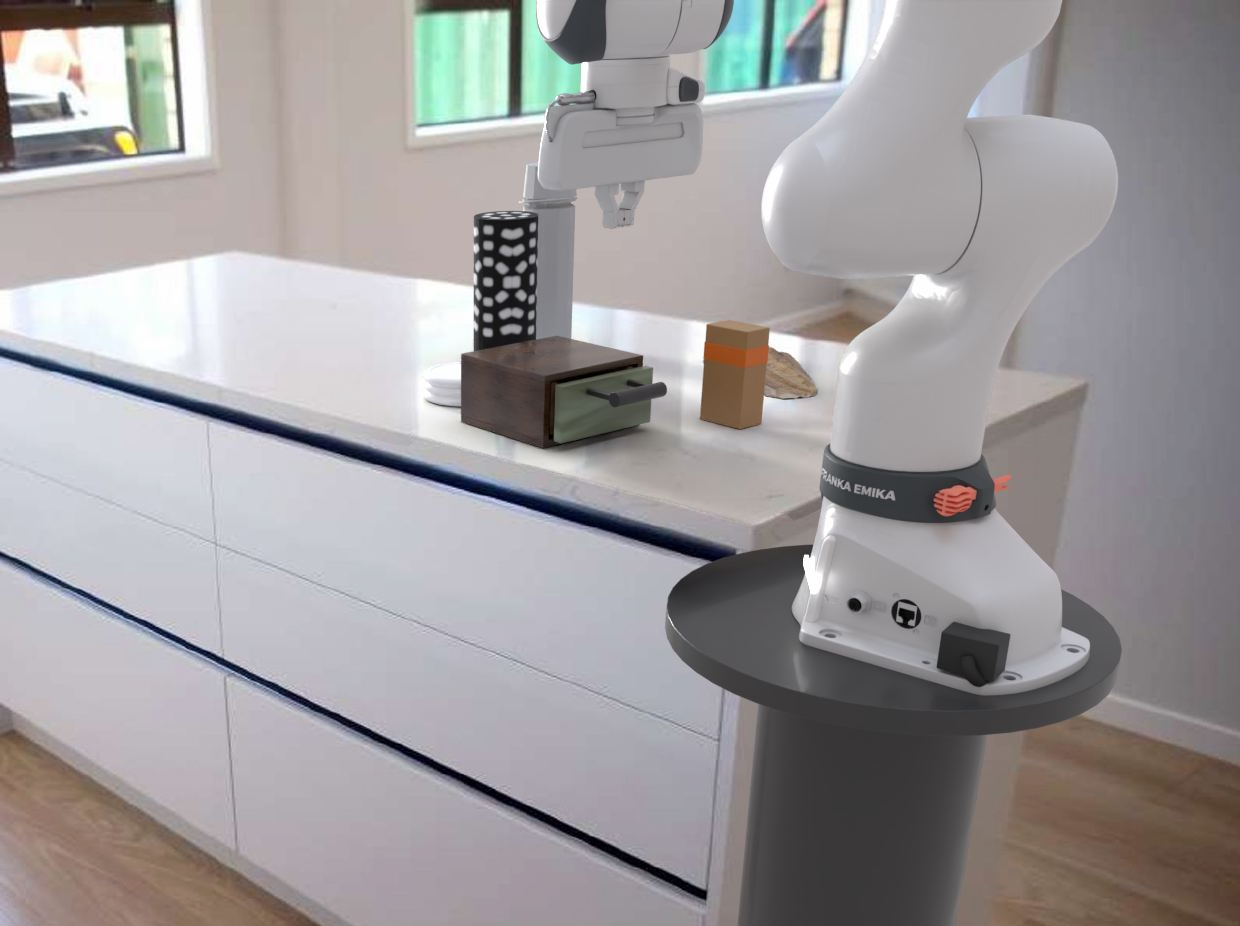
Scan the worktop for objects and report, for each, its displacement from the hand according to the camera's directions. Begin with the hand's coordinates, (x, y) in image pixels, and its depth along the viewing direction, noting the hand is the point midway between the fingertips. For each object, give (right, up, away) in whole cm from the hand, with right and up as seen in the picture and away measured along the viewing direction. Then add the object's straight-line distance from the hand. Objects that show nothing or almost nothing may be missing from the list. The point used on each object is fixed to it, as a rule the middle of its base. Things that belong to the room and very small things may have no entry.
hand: (617, 227), depth 150 cm
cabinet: (-5, -19, +15) cm, 24 cm away
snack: (+16, -19, +12) cm, 27 cm away
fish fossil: (+26, -10, +32) cm, 42 cm away
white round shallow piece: (-13, -14, +27) cm, 33 cm away
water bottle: (+1, -2, +53) cm, 53 cm away
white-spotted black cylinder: (-6, -8, +41) cm, 42 cm away
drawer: (-2, -20, +10) cm, 22 cm away
